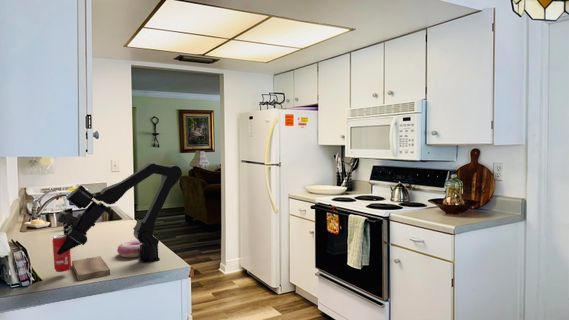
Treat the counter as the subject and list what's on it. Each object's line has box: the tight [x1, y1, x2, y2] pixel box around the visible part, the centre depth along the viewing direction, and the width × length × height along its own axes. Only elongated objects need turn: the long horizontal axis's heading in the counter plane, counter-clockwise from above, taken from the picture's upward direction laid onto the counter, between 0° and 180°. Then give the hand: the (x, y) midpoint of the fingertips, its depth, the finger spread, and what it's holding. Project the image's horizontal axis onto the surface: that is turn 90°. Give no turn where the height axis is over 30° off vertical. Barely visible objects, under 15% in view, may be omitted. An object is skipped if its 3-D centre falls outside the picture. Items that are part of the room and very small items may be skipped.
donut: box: [116, 239, 142, 258], centre depth 167 cm, size 14×13×5 cm
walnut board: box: [71, 255, 111, 281], centre depth 148 cm, size 10×20×2 cm, turn 33°
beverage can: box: [52, 234, 72, 273], centre depth 142 cm, size 5×5×12 cm
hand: (57, 252), depth 141 cm, fingers closed on beverage can, 5 cm apart
